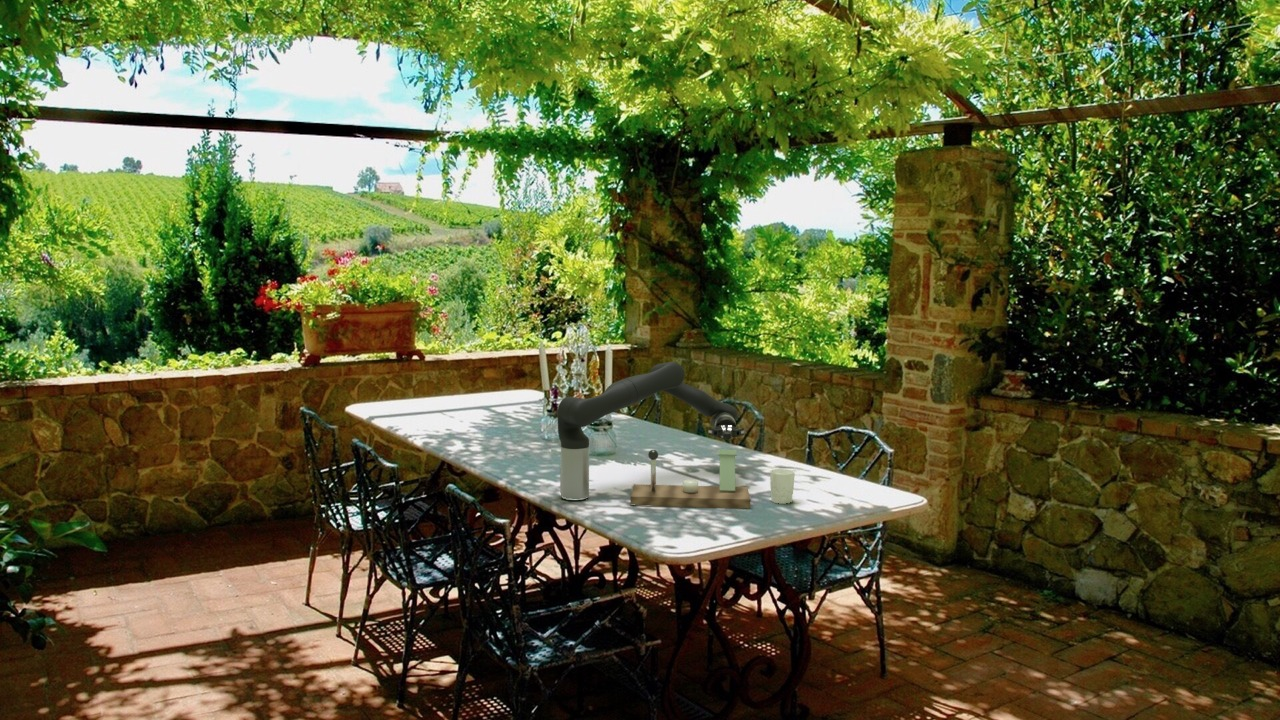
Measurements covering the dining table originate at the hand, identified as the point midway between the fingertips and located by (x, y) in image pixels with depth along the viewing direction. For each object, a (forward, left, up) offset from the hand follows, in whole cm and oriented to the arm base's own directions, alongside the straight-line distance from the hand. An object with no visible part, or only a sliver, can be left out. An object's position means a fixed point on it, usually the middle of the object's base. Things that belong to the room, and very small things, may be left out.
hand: (727, 436), depth 322 cm
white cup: (+18, +9, -20) cm, 28 cm away
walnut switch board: (+2, -16, -19) cm, 25 cm away
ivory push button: (+2, -16, -16) cm, 23 cm away
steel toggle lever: (-5, -26, -16) cm, 31 cm away
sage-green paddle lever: (+9, -7, -16) cm, 20 cm away
